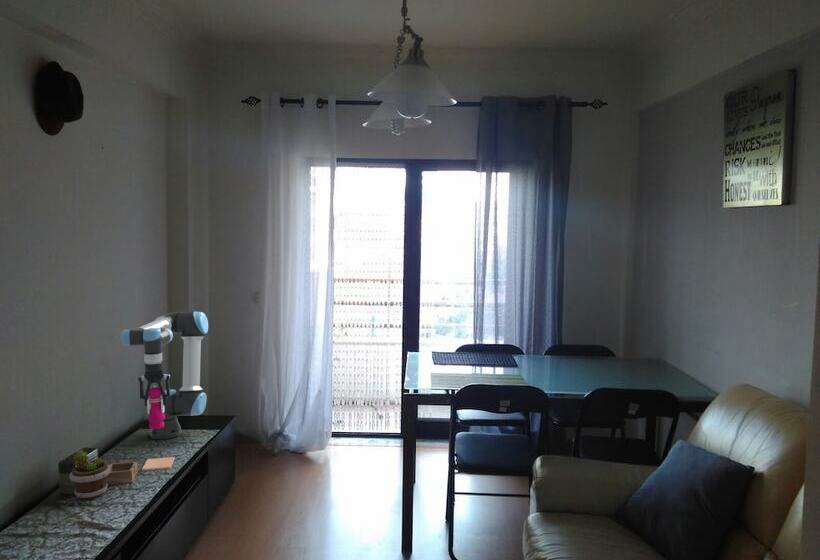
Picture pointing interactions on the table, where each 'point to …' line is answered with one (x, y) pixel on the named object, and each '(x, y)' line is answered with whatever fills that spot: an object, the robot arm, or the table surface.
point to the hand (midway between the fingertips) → (156, 412)
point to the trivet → (158, 463)
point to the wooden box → (122, 472)
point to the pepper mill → (155, 409)
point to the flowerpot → (89, 476)
